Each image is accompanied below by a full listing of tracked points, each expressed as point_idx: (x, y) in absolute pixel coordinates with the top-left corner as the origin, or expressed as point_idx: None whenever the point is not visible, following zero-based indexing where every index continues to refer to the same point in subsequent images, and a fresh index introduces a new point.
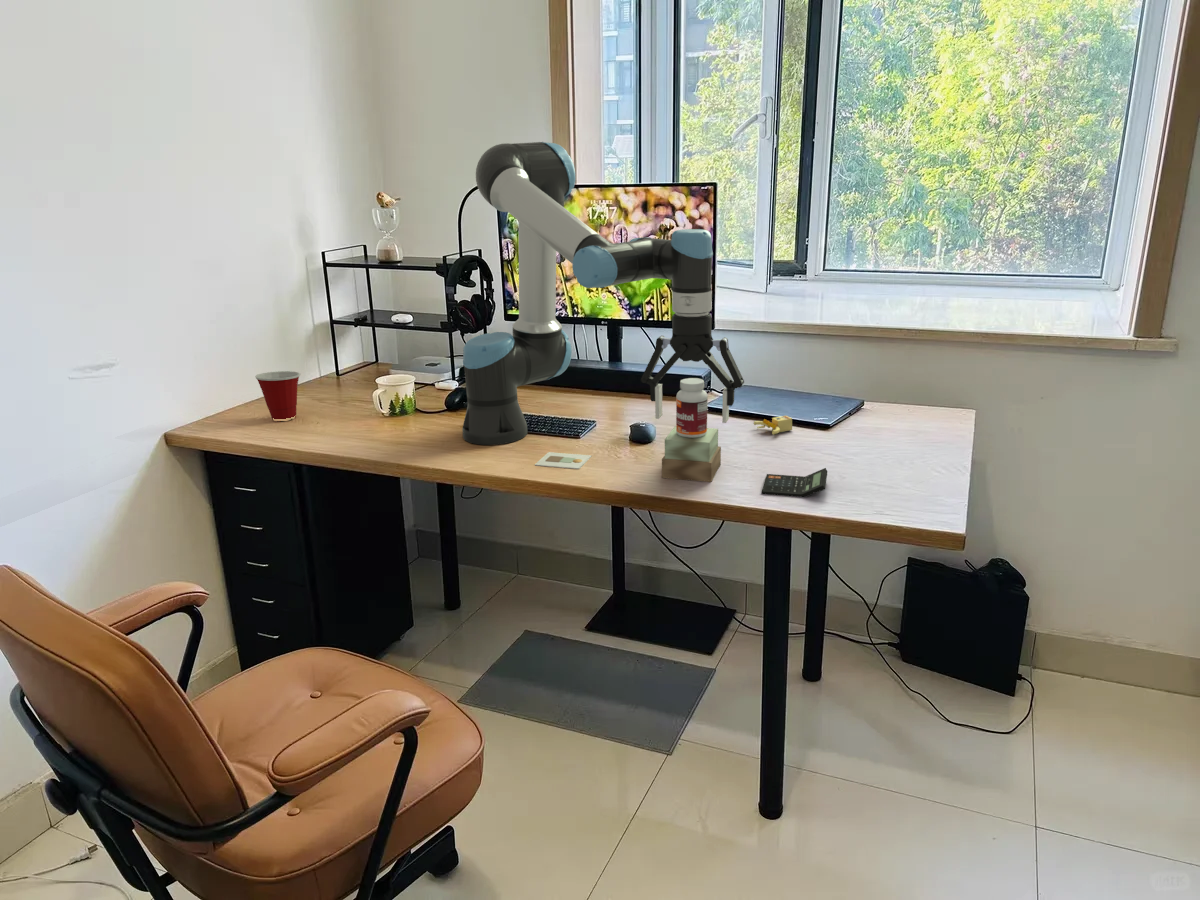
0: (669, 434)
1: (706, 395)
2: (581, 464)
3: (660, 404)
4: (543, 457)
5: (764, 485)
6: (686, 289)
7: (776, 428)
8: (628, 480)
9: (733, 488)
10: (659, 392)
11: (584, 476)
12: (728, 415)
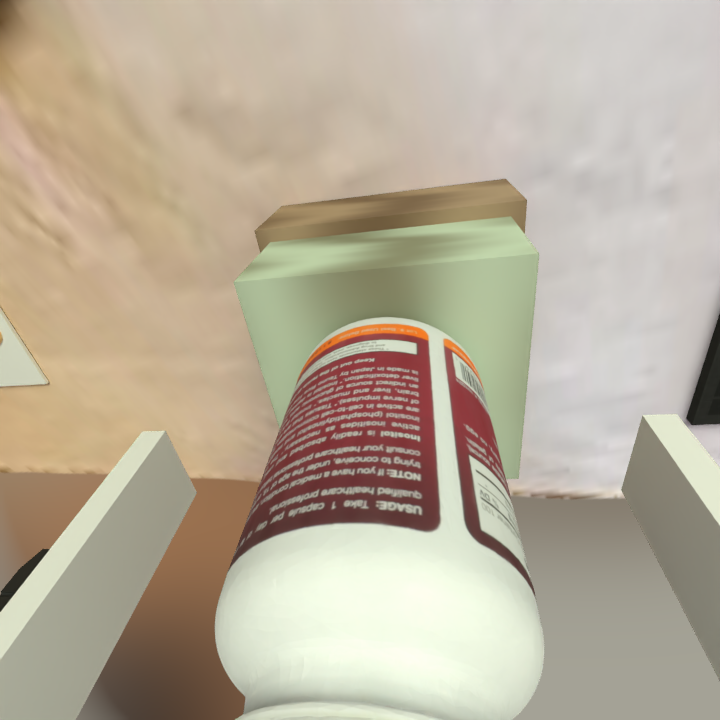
0: (282, 421)
1: (540, 672)
2: (24, 355)
3: (136, 540)
4: None
5: (712, 378)
6: None
7: None
8: (236, 419)
9: (584, 399)
10: (80, 673)
11: (108, 423)
12: (692, 441)
